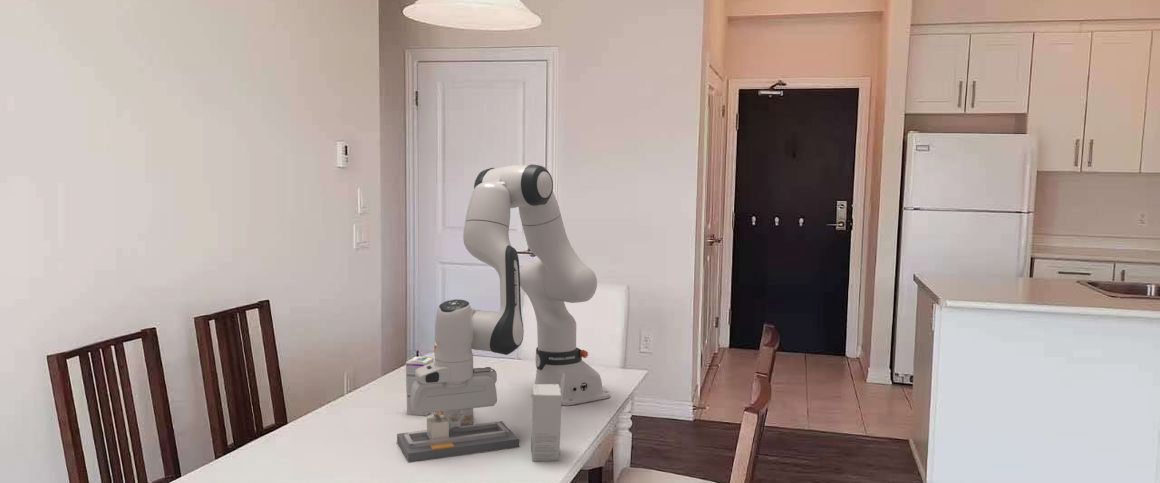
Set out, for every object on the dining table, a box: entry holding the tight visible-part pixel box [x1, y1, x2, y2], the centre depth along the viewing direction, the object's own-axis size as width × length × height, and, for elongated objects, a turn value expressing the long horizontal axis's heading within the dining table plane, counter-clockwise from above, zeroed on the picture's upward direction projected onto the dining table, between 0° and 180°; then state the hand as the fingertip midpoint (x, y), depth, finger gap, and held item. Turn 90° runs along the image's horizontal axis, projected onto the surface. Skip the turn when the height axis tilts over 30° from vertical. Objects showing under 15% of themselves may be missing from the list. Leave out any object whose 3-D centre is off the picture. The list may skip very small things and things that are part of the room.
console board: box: [396, 420, 521, 463], centre depth 187 cm, size 26×14×3 cm, turn 113°
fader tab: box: [426, 413, 449, 440], centre depth 185 cm, size 4×5×5 cm
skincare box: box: [530, 383, 562, 462], centre depth 181 cm, size 8×7×16 cm
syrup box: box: [405, 356, 435, 417], centre depth 211 cm, size 6×6×14 cm
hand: (454, 427), depth 187 cm, fingers closed
